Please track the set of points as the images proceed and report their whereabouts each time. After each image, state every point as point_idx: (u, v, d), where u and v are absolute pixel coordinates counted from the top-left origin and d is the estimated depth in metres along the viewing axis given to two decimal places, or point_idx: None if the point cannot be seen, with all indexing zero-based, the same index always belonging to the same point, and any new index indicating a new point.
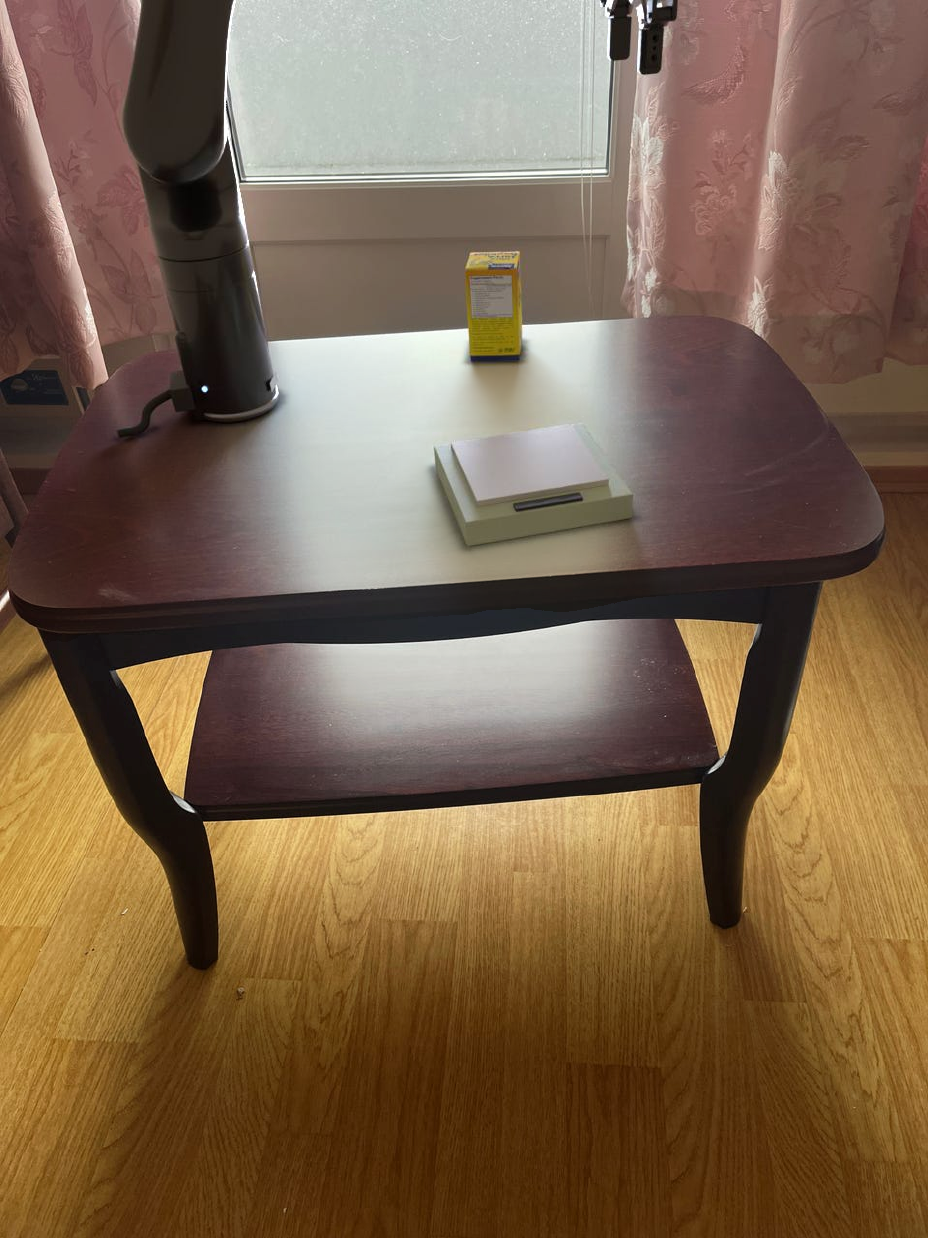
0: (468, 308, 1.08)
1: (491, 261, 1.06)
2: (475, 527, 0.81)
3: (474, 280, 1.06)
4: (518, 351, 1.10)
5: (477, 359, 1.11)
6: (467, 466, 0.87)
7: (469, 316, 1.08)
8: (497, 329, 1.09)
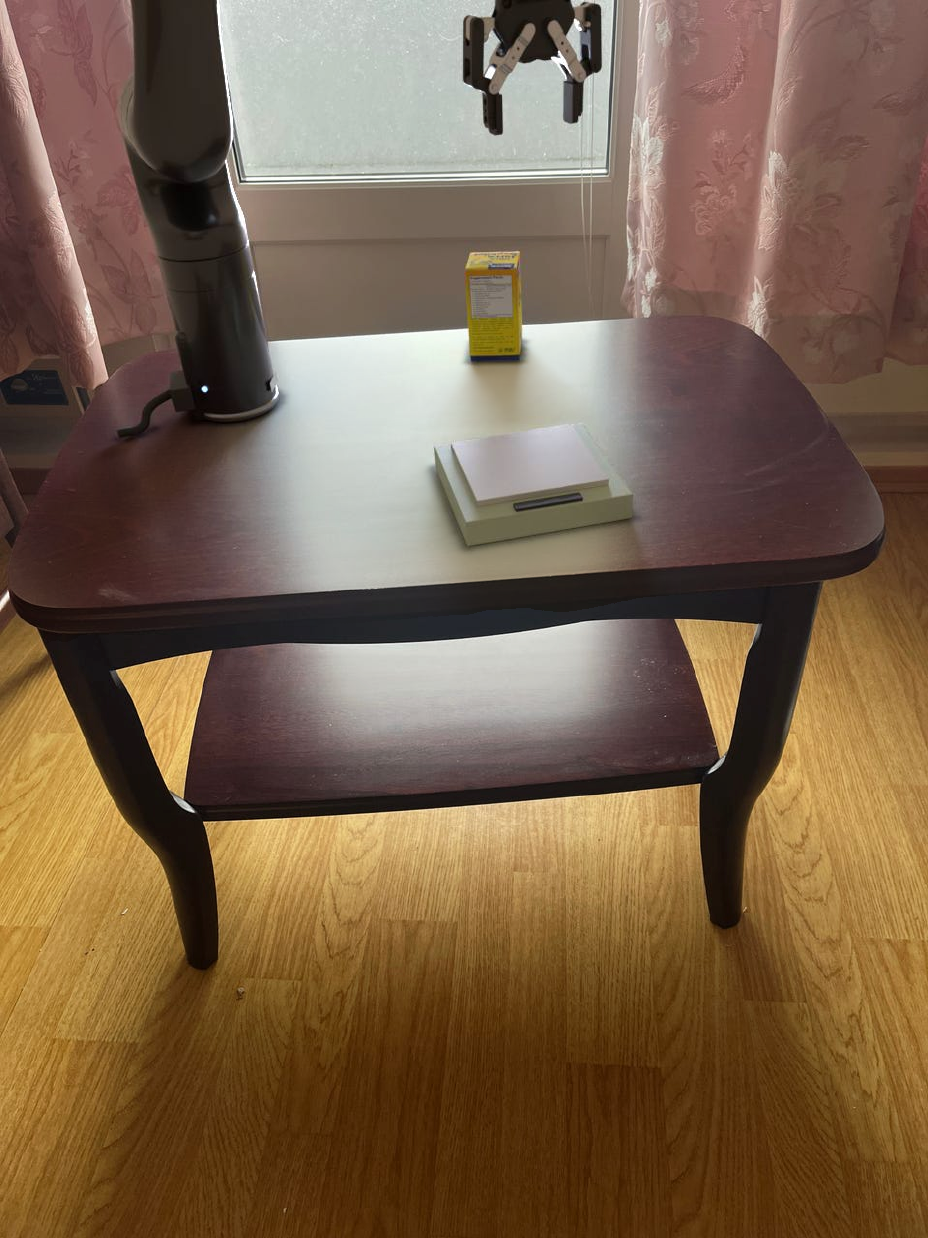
0: (468, 308, 1.08)
1: (491, 261, 1.06)
2: (475, 527, 0.81)
3: (474, 280, 1.06)
4: (518, 351, 1.10)
5: (477, 359, 1.11)
6: (467, 466, 0.87)
7: (469, 316, 1.08)
8: (497, 329, 1.09)
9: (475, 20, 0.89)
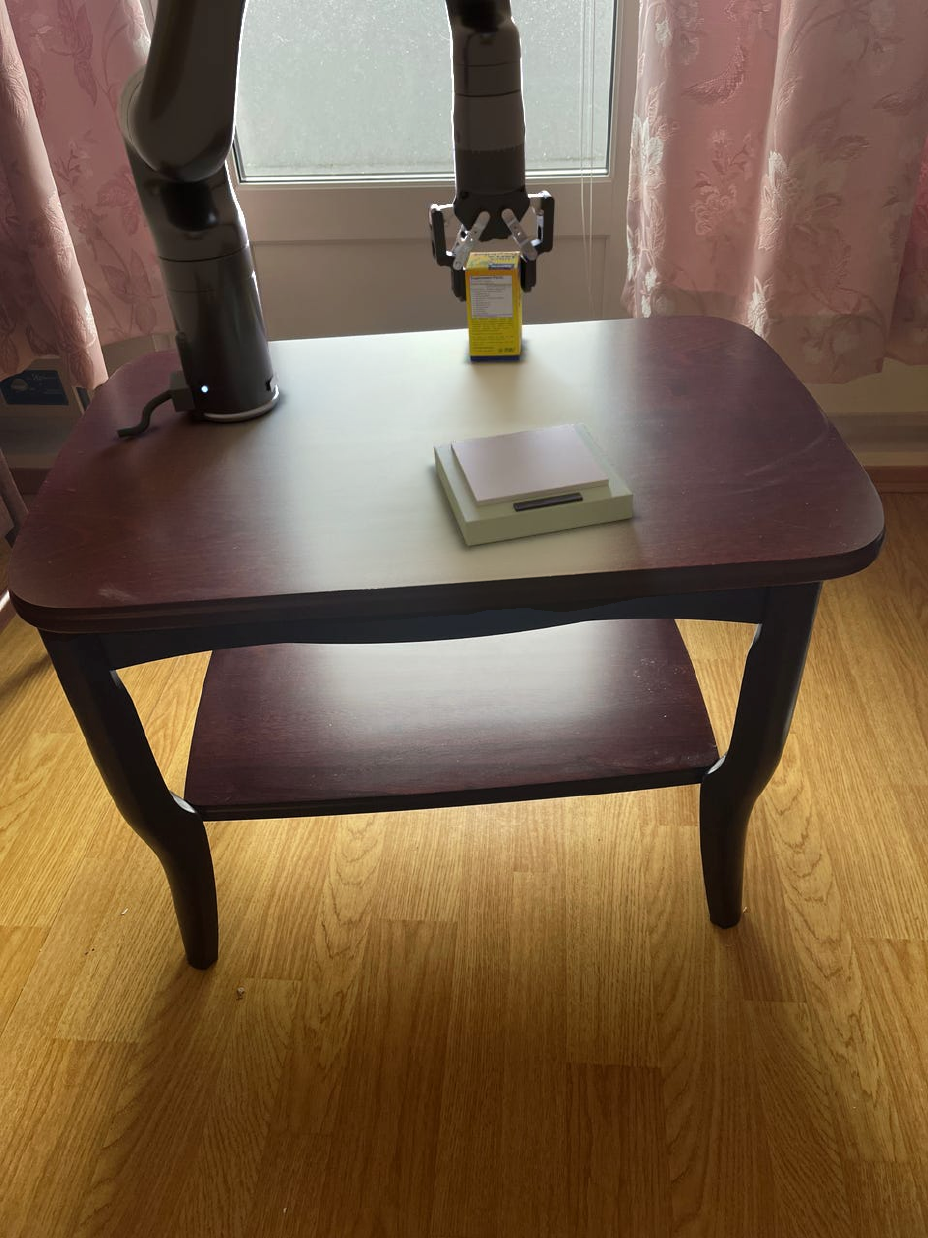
0: (468, 308, 1.08)
1: (491, 261, 1.06)
2: (475, 527, 0.81)
3: (474, 280, 1.06)
4: (518, 351, 1.10)
5: (477, 359, 1.11)
6: (467, 466, 0.87)
7: (469, 316, 1.08)
8: (497, 329, 1.09)
9: (434, 212, 1.01)
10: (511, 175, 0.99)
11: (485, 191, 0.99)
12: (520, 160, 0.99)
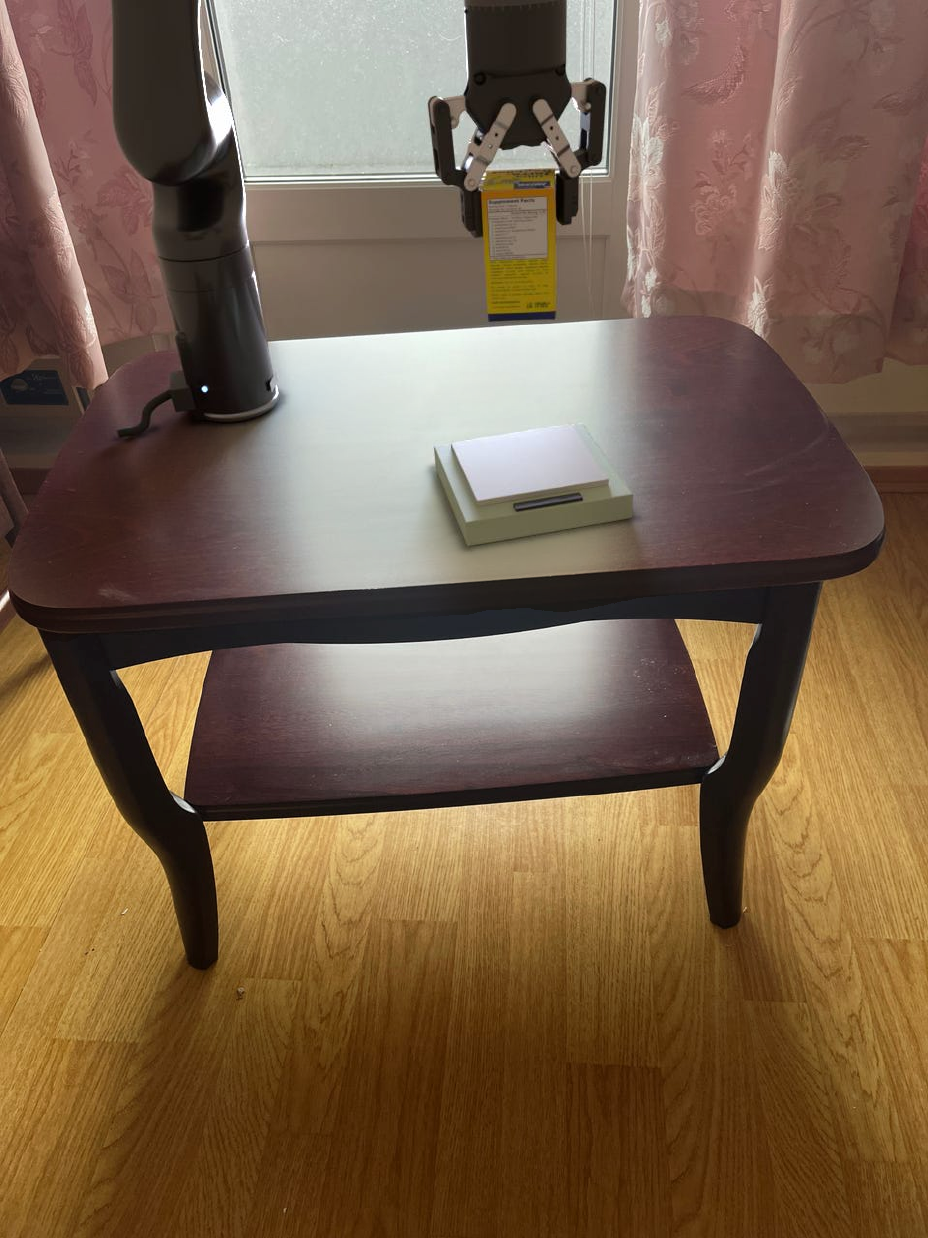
0: (485, 246, 0.78)
1: (517, 179, 0.76)
2: (475, 527, 0.81)
3: (493, 205, 0.76)
4: (554, 306, 0.80)
5: (497, 319, 0.81)
6: (467, 466, 0.87)
7: (487, 258, 0.78)
8: (525, 275, 0.79)
9: (437, 105, 0.71)
10: (548, 46, 0.69)
11: (511, 70, 0.69)
12: (560, 24, 0.69)
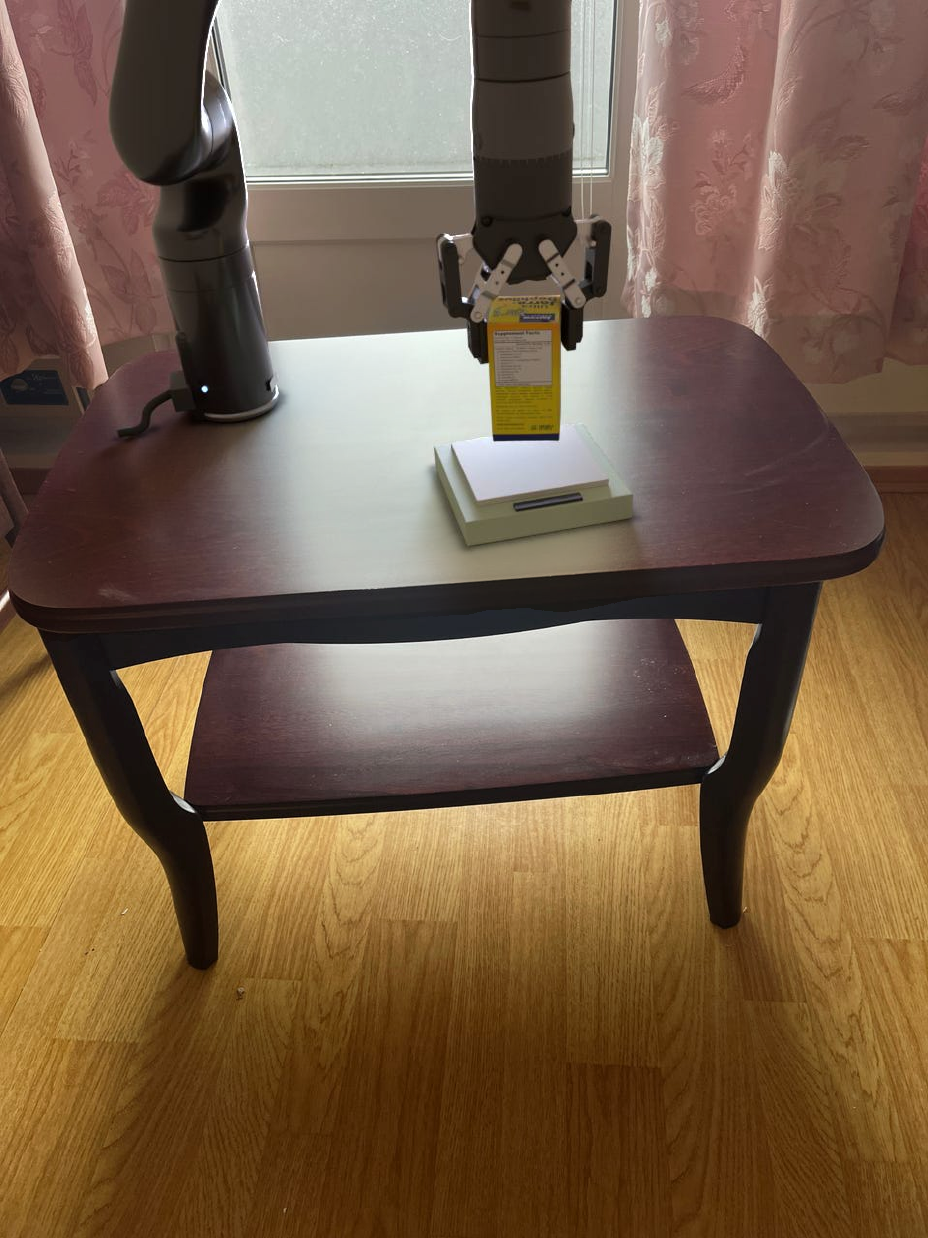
0: (491, 373, 0.79)
1: (522, 309, 0.78)
2: (475, 527, 0.81)
3: (499, 336, 0.77)
4: (558, 429, 0.82)
5: (502, 439, 0.83)
6: (467, 466, 0.87)
7: (492, 384, 0.80)
8: (529, 400, 0.80)
9: (445, 246, 0.73)
10: (554, 194, 0.70)
11: (517, 217, 0.70)
12: (566, 173, 0.70)
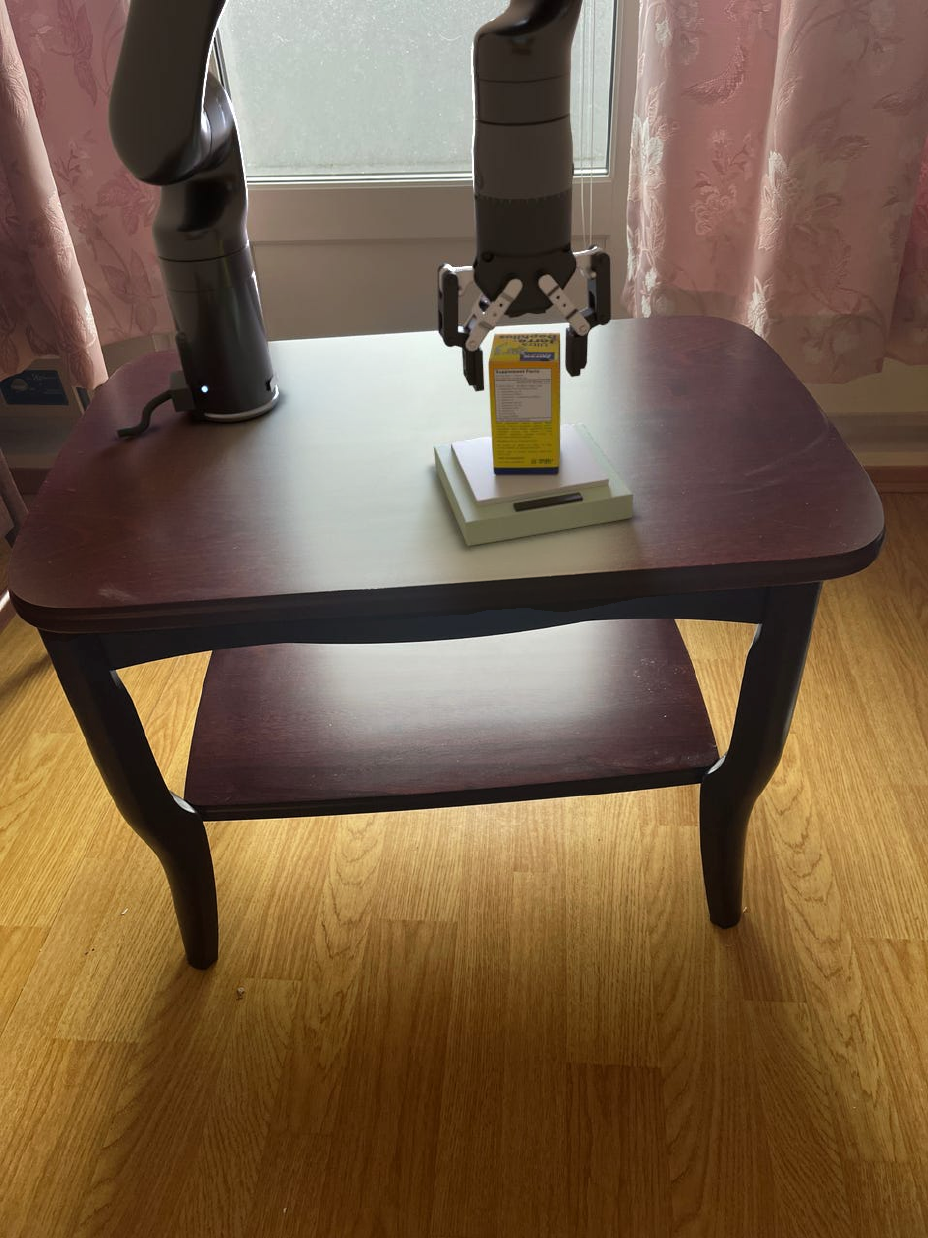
0: (492, 409, 0.81)
1: (523, 348, 0.80)
2: (475, 527, 0.81)
3: (500, 374, 0.79)
4: (557, 463, 0.84)
5: (503, 472, 0.85)
6: (467, 466, 0.87)
7: (493, 419, 0.82)
8: (529, 435, 0.82)
9: (446, 276, 0.74)
10: (553, 232, 0.71)
11: (517, 254, 0.72)
12: (566, 211, 0.71)
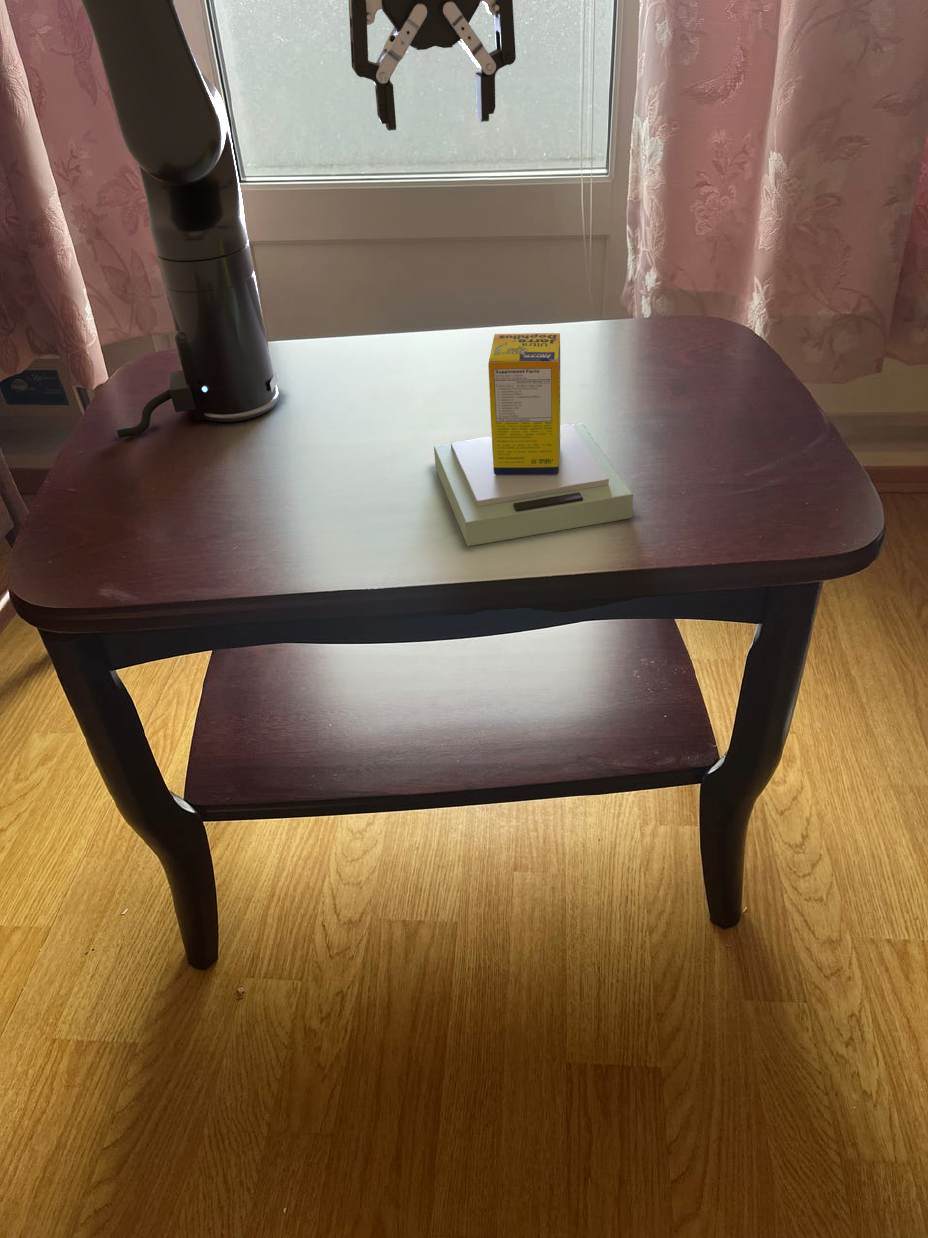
0: (492, 409, 0.81)
1: (523, 348, 0.80)
2: (475, 527, 0.81)
3: (500, 374, 0.79)
4: (557, 463, 0.84)
5: (503, 472, 0.85)
6: (467, 466, 0.87)
7: (493, 419, 0.82)
8: (529, 435, 0.82)
9: None
10: None
11: None
12: None
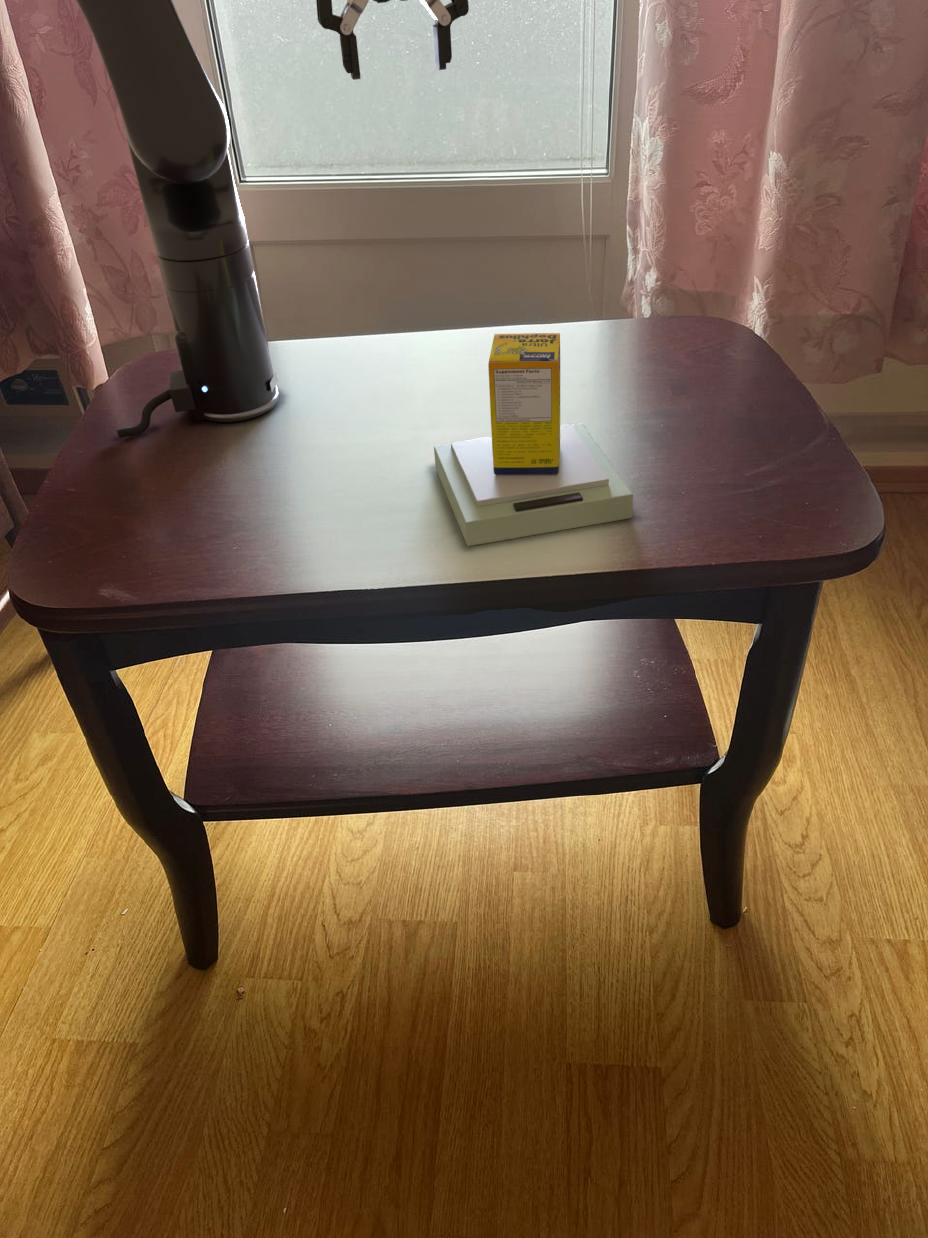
0: (492, 409, 0.81)
1: (523, 348, 0.80)
2: (475, 527, 0.81)
3: (500, 374, 0.79)
4: (557, 463, 0.84)
5: (503, 472, 0.85)
6: (467, 466, 0.87)
7: (493, 419, 0.82)
8: (529, 435, 0.82)
9: None
10: None
11: None
12: None
